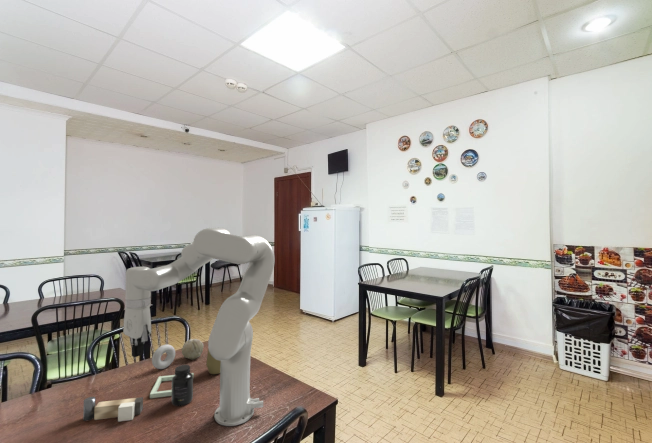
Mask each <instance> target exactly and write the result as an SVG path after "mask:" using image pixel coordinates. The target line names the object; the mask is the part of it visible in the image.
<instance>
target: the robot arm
mask: <svg viewBox="0 0 652 443" xmlns="http://www.w3.org/2000/svg"><path fill="white" fill-rule="evenodd" d="M275 258H276V257H275V252H274V250H273V247H272V245H271V244H270V243H269V241H268V240H267V239H265V238H264V237H262V236H260V235H257V234H256V235H255V234H250V235H241V236H240V235H237V234H231V232H230V231H229V230H227V229H225V228H224V227H209V228H207V227H206V228H203V229H201V230H200V231H198V232H197V233H196V235H195V236H194V238H193V241H192V242H190V243H189V244H187V245H185V246H184V247H183V248H182V249H181V257H179V258H178V259H176V260H174V261H173V262H171V263H169V264H167V265H162V266H156V267H154V268H150V267H149V266H148V267H147V266H134V267H133V266H132V267H130V268H127V269H126V270H125V303H124V305H125V306H124V307H125V308H124V309H125V310H124V317H123V330H122V331H123V334H124V335H125V336H127V337H129V338H130V343H131V357H133V358H137V357H140V356H143V355H144V353H145V343H146V342H148V340H149V339H148V337H149V336H150V335H151V333H152V317H151V308H150V307H151V305H152V304H151V303H152V302H151V300H152V292H155V291H156V292H157V291H159V290H162V289H165V288H167V287H172V286H174V285H176V284H178V283H179V282H181V281H183V280H185V279H187V278H188V277H189V276H191V275H193V274H194V273H195V272H196V271H198V269H200V268H201V267H203V266H204V265H206V264H208V263H209V262H211V261H213V260H219V261H222V262H225V263H226V262H227V263H231V264H234V265H235V264H236V265H244V264H248V267H247V269H246V270H245V272H244V273H243V276H242V280H241V282H240V285H239V287H238V289H237V291H236V292H235V293H234V294H231V295H230V296H228V297H227V298H226V299H225V300H224V301H223V302H222V304H221V306H220V308H219V309H218V311H217V312H218V313H217V315H216V318H215V319H214V323H213V325H212V328H211V332H210V334H209V337H208V341H207V350H208V349H209V352H210V354H211V356H212V357H213V358H215V359H216V360H220V361H221V366H220V373H219V374H220V375H219V376H220V377H219V406H218V407H217V408H216V410H215V411H214V421H215V422H216V423H217V424H219V425H221V426H223V427H224V426H225V427H235V426H238V425H242V424H244V423H246V422H248V421H249V420H250V419H251V418H252V417H253V415H254V413H255V409H256V408H257V409H258V408H260V409H261V408H264V400H260V398H259V397H258V398H257V397H256V398H253V397H251V394H250V392H251V391H250V388H251V386H250V383H251V354H252V345H253V336H254V330H253V326H252V324H251V322H250V321H251V320H252V319H253V318H254V317H255V316H257V314H258V313H259V311H260V309H261V306H262V304H263V303H262V302H263V299H264V297H265V295H266V292H267V289H268V285H269V282H270V280H271V277H272V274H273V271H274V267H275V263H276V262H275V260H276V259H275Z"/></svg>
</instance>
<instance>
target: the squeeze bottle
mask: <svg viewBox="0 0 652 443" xmlns="http://www.w3.org/2000/svg"><path fill="white" fill-rule="evenodd" d="M220 366H221V361H220V360H216V359H215V358H213V357H212V356H211V354H210V352H209V349H208V348H207V356H206V367H207V370H208V371H207V372H208V373H209V374H210V375H218V374H220Z"/></svg>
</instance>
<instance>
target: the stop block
mask: <svg viewBox="0 0 652 443" xmlns="http://www.w3.org/2000/svg"><path fill="white" fill-rule="evenodd" d="M134 417H135V402H129V403H121V404H120V406H119V408H118V417H117V422H125V421H133V419H134Z"/></svg>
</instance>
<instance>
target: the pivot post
mask: <svg viewBox="0 0 652 443" xmlns="http://www.w3.org/2000/svg"><path fill="white" fill-rule="evenodd" d="M95 406H96V397H95V396H89V397H86V398H84V400H83V418H82V419H83V421H84V422H89V421H92V420H94V409H95Z"/></svg>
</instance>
